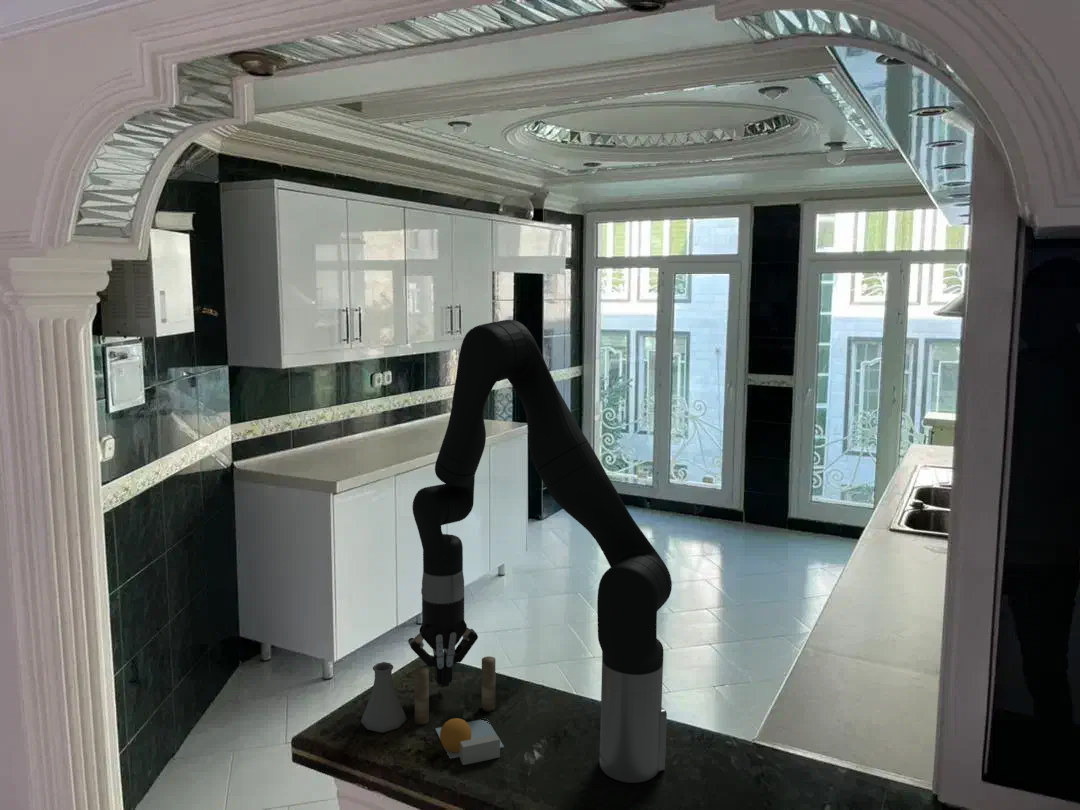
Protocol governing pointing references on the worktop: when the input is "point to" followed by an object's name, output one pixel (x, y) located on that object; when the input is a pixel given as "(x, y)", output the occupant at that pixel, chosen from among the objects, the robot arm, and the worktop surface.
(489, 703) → the inner post
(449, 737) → the ball
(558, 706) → the worktop surface
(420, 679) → the outer post
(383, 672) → the flask
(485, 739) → the block
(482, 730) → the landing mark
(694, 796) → the worktop surface
